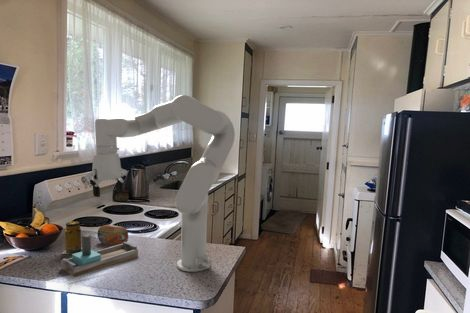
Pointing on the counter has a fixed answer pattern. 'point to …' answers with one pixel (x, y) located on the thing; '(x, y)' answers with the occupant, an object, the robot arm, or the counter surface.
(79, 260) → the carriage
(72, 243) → the condiment
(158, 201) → the counter surface
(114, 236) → the orange brown rounded block
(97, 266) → the rail board
